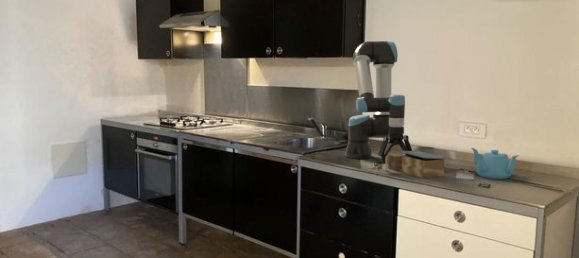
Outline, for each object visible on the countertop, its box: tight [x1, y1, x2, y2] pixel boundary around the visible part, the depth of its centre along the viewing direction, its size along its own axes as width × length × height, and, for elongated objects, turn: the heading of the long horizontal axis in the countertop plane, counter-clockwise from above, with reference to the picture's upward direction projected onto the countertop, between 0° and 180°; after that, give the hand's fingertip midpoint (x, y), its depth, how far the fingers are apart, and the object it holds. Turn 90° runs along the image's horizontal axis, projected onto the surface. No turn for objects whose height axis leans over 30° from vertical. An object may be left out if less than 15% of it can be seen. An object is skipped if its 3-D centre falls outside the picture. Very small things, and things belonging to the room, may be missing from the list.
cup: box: [417, 146, 436, 155], centre depth 248 cm, size 8×8×10 cm
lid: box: [400, 150, 446, 159], centre depth 233 cm, size 17×12×1 cm
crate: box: [400, 155, 446, 179], centre depth 234 cm, size 16×12×8 cm
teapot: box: [470, 147, 520, 180], centre depth 229 cm, size 17×19×12 cm
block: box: [387, 153, 402, 172], centre depth 244 cm, size 5×5×7 cm
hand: (395, 168), depth 244 cm, fingers open, 12 cm apart
